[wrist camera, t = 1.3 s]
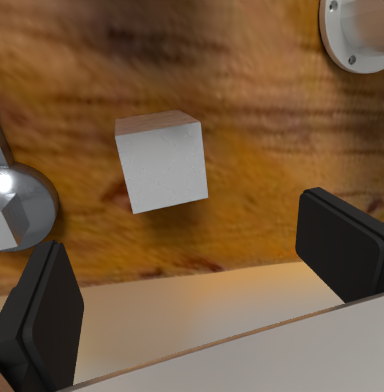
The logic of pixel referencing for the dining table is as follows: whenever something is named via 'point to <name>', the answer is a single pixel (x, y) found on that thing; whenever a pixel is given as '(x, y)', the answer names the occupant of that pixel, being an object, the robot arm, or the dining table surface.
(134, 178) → the brushed metal cube
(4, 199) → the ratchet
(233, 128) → the dining table surface
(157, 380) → the robot arm
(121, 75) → the dining table surface
